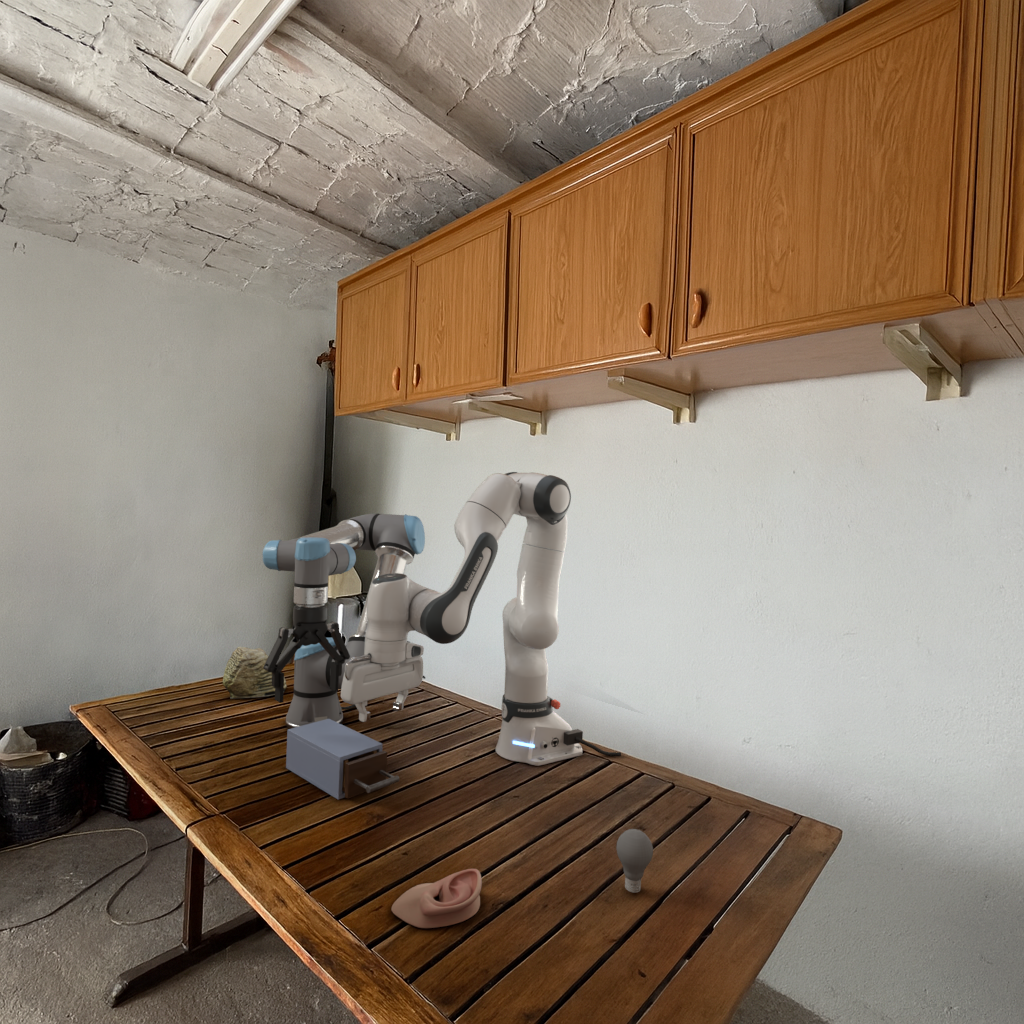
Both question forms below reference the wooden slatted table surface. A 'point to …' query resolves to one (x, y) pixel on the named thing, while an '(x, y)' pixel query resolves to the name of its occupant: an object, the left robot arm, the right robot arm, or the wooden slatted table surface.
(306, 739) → the cabinet
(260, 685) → the fossil
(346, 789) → the drawer
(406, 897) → the anatomical model
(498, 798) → the wooden slatted table surface
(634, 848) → the light bulb
